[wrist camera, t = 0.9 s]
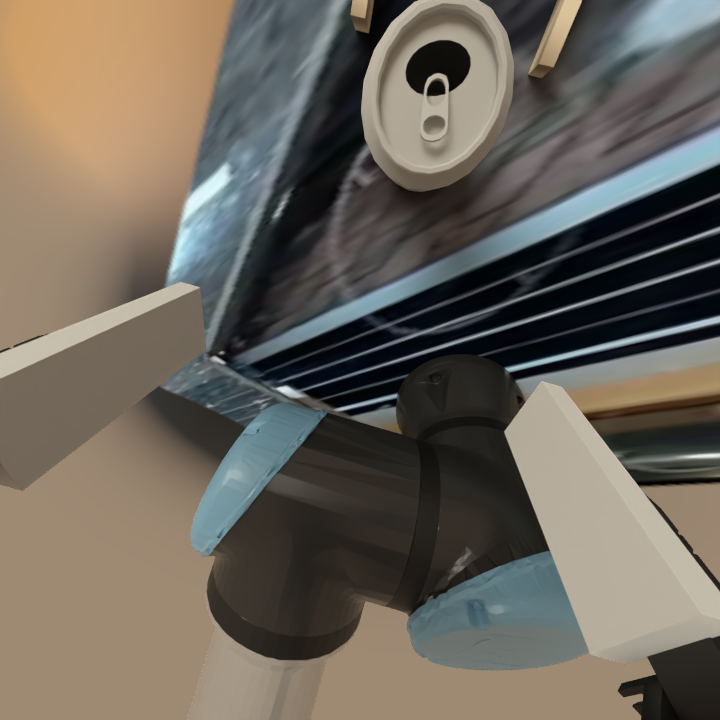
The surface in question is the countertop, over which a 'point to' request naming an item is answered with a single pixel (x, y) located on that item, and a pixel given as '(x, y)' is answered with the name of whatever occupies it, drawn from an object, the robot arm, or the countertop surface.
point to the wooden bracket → (548, 47)
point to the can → (437, 92)
